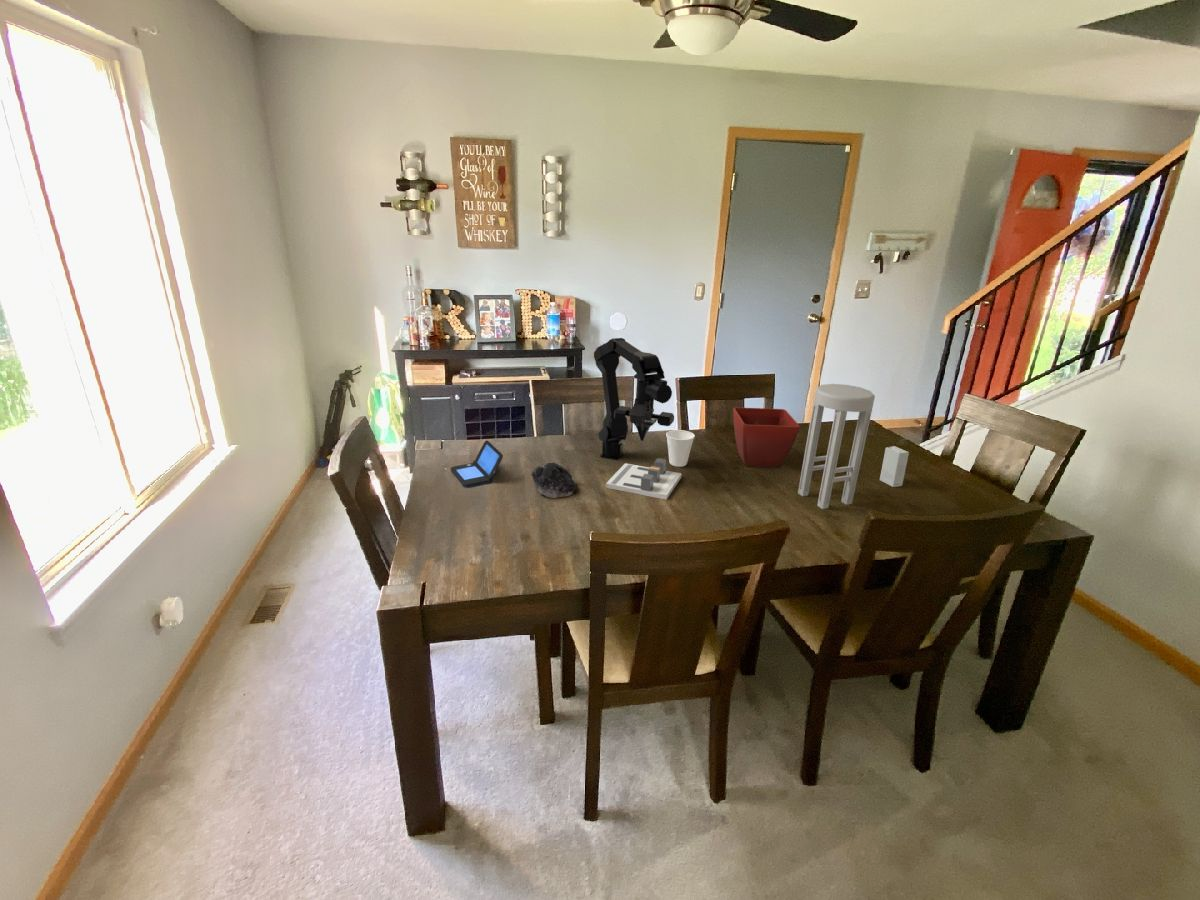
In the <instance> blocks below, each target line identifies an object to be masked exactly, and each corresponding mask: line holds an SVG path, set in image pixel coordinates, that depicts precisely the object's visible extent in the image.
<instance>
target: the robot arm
mask: <svg viewBox="0 0 1200 900" xmlns="http://www.w3.org/2000/svg"><path fill="white" fill-rule="evenodd" d="M620 357H622V358H623V359H625V360H626V361H627V362H629V363H630V364H631V369H632V370H634V372H635V373H636V374H634V375H633V379H636V391H635V392H636V393H635V398H634V404H633V406H632V408H631V406H627V405H626V406H625V405H620V404H621V403H620V398H619V396H620V395H619V389H618V382H617V381H618V380H617V369H618V367H619V364H620ZM593 359H594V362H595V366H596V367H597V369H598V370H599V371H600V373H601V378H602V387H603V388H602V389H603V393H604V403H605V412H606V414H605V415H604V419H603V421H602V425H603V428H602V429H601V430H600V431H599V432H598V440H600V442H601V441H602V444H601V445H602V446H601V447H602V448H601V449H602V452H601V454H600V455H599V456H600V457H601V458H607V459H612V460H618V459H620V457H621V456H622V455H623V450H624V449H623V448H624V444H623V443H622V441H625V440H626V439H627V435H628V432H629V425H628V418H627V417H629V422H630V423H631V424H633V425H634V426H635V427H636V429H637V433H638V435H639V440H640V441H641V442H644V441H645V438H646V437H647V435H648V433H649V431H650V428H651V427H652V426H653V425H655V423H657V424H658V425H659V426H665V427H670V426H671V425H672V424H673V423H674V421H675V415H674V413H673V412H667V411H662V412H660V413H659V414H658V413H657V414H656V413H654V412H655V408H654V402H655V401H656V402H658V403H660V404H665V403H668V402H669V401H670V400H671V398H672V396H673V390H672V388H671V387H670V385H668V380H665V378H666V376H665V372H664V369H663V367H662V365H661V362H660V361H661V360H660V359H659V357H658V355H656V354H653V353H650V352H644V351H642V350H640V349H638V348H637V347H635V346H634V345H632V344H631V343H630V342H627V341H626V339H625V338H623V337H614V338H611V339H609V340H607V342H605V343H603V344H602V345H601V344H600V346H597V347H596V348H595V350H594V352H593Z"/></svg>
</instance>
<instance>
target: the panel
mask: <svg viewBox="0 0 1200 900" xmlns="http://www.w3.org/2000/svg"><path fill="white" fill-rule="evenodd" d="M649 468H650V467H649V466H642V465H636V464H631V463H624V464H623V465H622V466H621V467H620V468H619V469H618V470H617V471H616V472H615V473H614V474H613V475H612V477H611V478H609V480H608V481H607V482H606V483H605V488H606V489H612V490H616V491H621V492H627V493H631V494H636V495H641V496H645V497H646V496H647V497H651V498H657V499H662V500H668V498H669V497H670V495H671V493H672V492H673V491H674V489H675V488H676V487H677V485H678V483H679V481H681V479H682V473H681V472H675V471H670V470H666V471H665V472H664V473H663V475H662V474H660V479H659V480H658V481H657V483H655V482H654V483H653V488H652V489H651V490H650V491H645V490H641V478H642V476H643V475H644V474H648V469H649Z"/></svg>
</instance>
